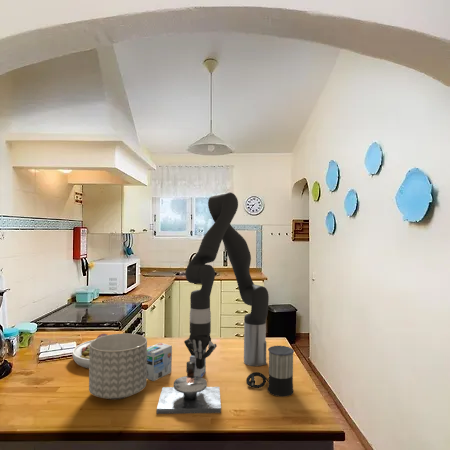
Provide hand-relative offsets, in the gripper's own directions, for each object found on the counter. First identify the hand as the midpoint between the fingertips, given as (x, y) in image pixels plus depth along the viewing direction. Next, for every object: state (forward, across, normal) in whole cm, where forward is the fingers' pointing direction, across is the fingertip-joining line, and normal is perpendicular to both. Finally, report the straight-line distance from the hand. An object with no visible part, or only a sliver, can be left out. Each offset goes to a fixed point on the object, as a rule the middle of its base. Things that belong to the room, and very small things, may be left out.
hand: (200, 368), depth 129 cm
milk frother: (+8, -21, -13) cm, 26 cm away
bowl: (+8, +50, -4) cm, 51 cm away
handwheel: (+2, -1, +7) cm, 8 cm away
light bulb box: (+8, +21, -2) cm, 23 cm away
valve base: (+7, -2, +9) cm, 12 cm away
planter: (+7, +22, +18) cm, 29 cm away
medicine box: (+8, +7, -9) cm, 14 cm away
